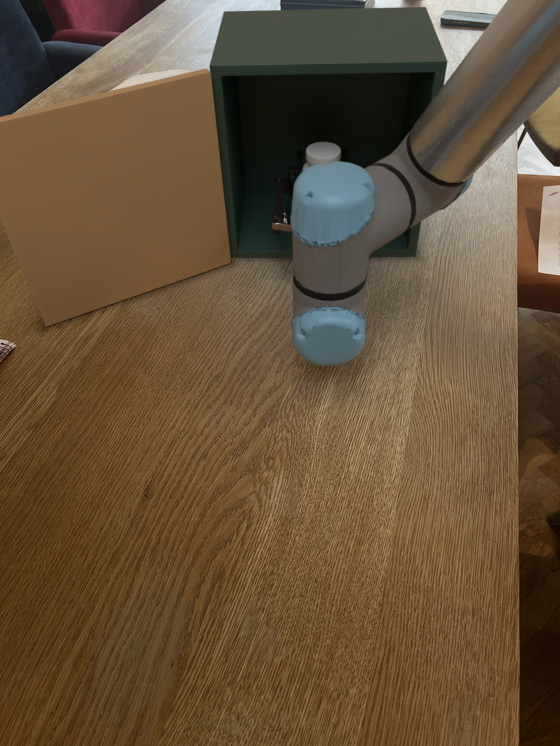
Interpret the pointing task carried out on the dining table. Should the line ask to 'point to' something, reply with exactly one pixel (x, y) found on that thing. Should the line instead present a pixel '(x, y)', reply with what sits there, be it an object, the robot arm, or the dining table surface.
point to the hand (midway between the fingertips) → (322, 158)
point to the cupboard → (314, 103)
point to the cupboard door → (114, 193)
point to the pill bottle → (321, 154)
